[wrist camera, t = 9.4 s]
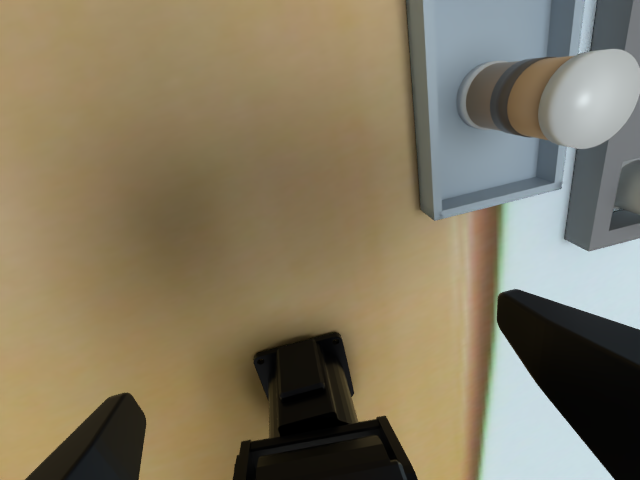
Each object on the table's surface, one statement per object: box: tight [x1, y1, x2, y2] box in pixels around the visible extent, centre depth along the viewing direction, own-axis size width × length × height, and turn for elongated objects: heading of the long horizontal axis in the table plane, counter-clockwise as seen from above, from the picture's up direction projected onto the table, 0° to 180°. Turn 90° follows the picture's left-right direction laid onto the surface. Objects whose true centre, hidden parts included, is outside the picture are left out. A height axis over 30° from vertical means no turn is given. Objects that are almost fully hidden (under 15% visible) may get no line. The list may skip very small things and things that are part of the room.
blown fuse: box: [456, 49, 640, 149], centre depth 15 cm, size 3×3×7 cm
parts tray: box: [406, 0, 585, 221], centre depth 18 cm, size 12×8×2 cm, turn 11°
